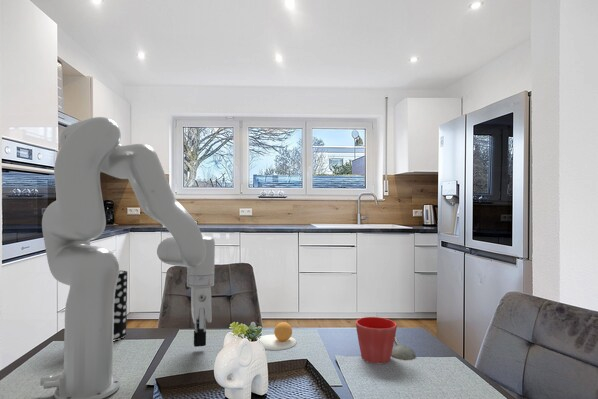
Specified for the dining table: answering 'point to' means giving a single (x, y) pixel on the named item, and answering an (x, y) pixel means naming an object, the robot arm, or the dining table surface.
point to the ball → (283, 331)
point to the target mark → (276, 343)
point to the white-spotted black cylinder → (120, 306)
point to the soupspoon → (402, 352)
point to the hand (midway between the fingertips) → (199, 345)
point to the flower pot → (376, 338)
